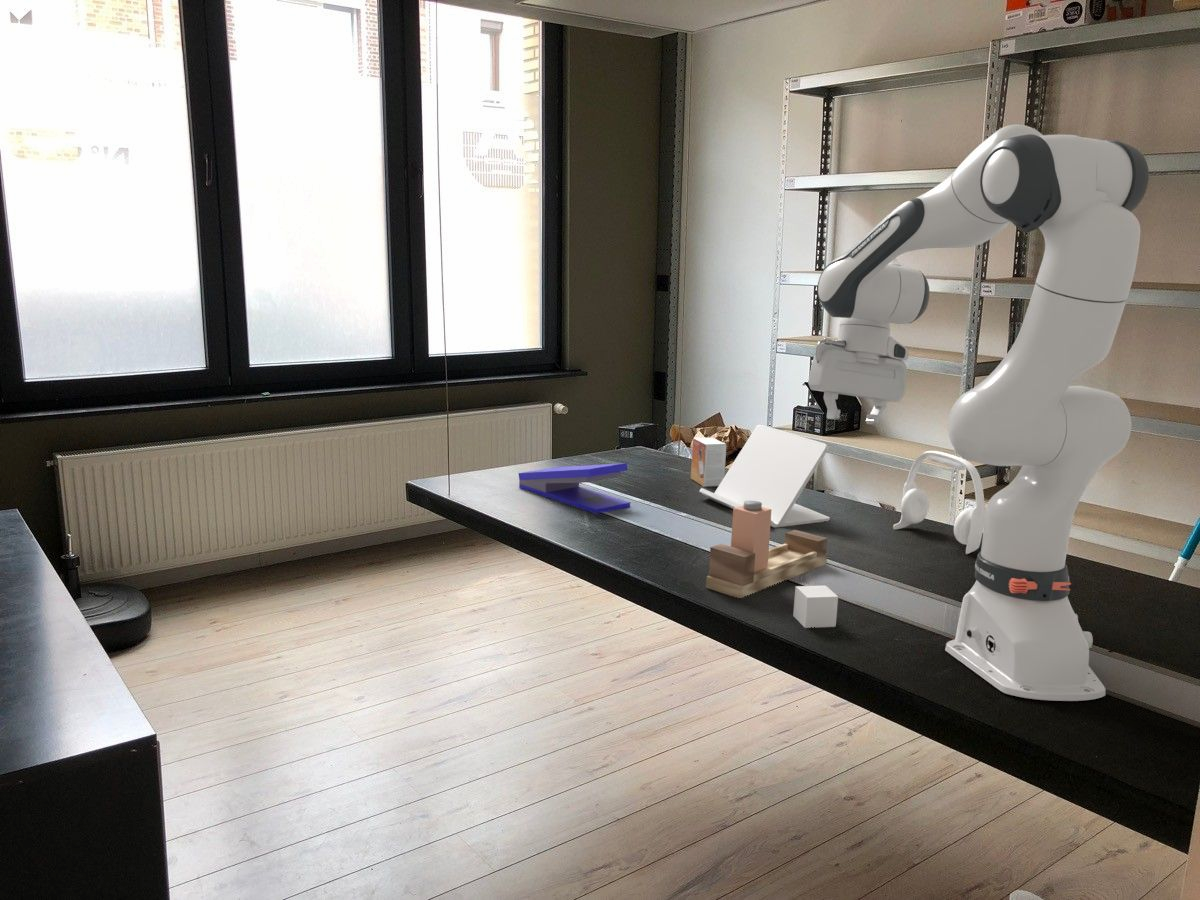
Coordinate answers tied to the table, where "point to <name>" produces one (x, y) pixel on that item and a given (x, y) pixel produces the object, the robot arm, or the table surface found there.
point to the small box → (708, 461)
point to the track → (785, 561)
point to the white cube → (815, 606)
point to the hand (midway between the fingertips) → (852, 421)
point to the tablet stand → (773, 475)
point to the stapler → (575, 485)
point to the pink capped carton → (752, 531)
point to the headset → (918, 502)
